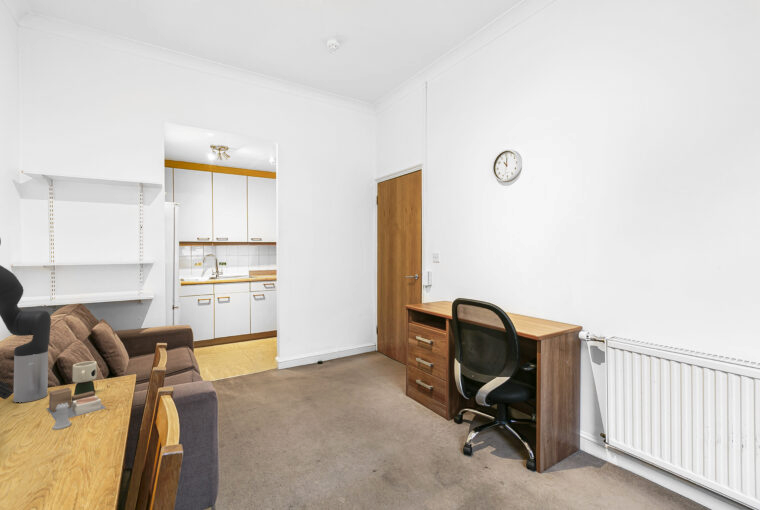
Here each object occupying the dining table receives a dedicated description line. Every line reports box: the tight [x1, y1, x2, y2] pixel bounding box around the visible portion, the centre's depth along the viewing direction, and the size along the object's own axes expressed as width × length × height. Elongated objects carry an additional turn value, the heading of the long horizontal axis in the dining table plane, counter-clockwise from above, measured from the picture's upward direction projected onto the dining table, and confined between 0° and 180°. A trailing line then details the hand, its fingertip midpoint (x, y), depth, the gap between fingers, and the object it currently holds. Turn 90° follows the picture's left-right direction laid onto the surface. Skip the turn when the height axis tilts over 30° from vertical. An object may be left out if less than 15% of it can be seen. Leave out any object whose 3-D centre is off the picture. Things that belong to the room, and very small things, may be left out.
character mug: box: [72, 360, 98, 396], centre depth 135 cm, size 11×7×13 cm, turn 34°
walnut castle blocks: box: [48, 386, 96, 412], centre depth 125 cm, size 5×12×6 cm, turn 141°
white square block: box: [72, 395, 102, 416], centre depth 121 cm, size 6×6×3 cm
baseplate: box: [46, 401, 107, 422], centre depth 122 cm, size 16×13×1 cm
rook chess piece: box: [52, 403, 72, 430], centre depth 109 cm, size 4×4×8 cm
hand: (7, 392), depth 100 cm, fingers open, 8 cm apart
